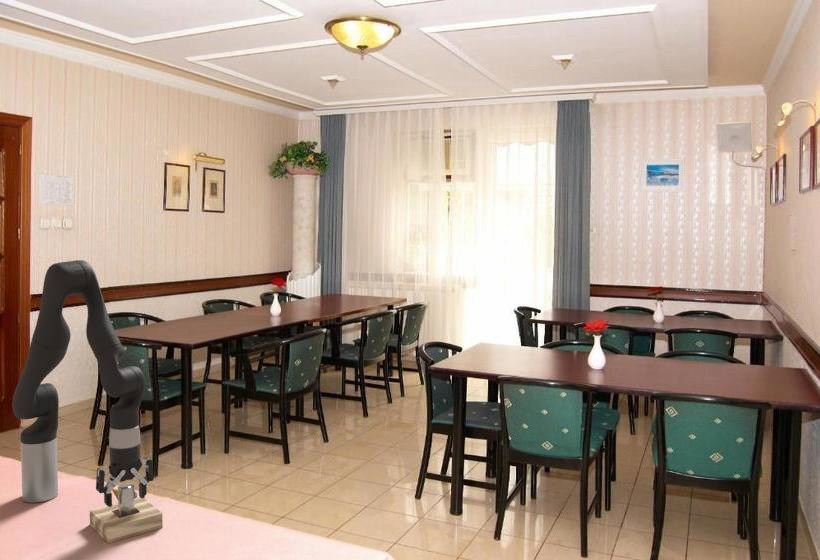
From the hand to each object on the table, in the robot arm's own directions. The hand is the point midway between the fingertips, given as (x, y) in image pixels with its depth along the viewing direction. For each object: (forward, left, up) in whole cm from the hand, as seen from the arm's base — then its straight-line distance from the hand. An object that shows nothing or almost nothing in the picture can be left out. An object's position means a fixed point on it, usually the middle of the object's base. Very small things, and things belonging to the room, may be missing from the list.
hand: (125, 501), depth 182 cm
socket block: (0, 0, -7) cm, 7 cm away
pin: (0, 0, -6) cm, 6 cm away
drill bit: (-11, +4, -7) cm, 13 cm away
